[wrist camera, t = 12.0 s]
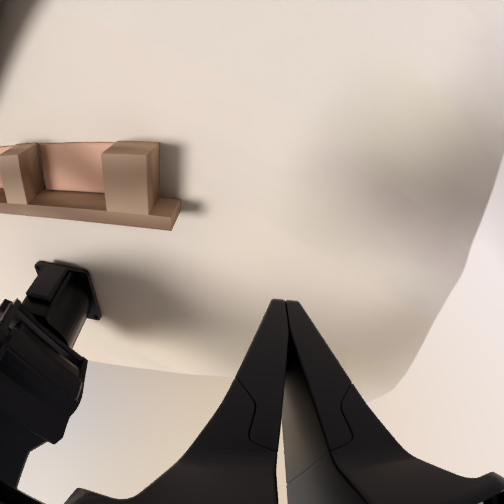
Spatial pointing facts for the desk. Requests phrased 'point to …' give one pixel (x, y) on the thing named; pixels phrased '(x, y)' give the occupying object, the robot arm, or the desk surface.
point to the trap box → (87, 183)
